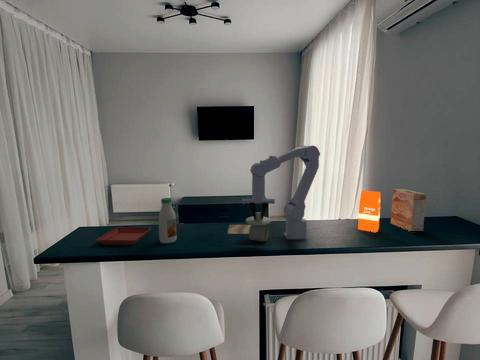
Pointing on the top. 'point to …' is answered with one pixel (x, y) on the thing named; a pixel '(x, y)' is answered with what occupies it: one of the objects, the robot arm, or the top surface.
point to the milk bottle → (167, 222)
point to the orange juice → (369, 211)
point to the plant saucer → (124, 236)
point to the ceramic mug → (258, 233)
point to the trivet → (238, 229)
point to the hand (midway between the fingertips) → (258, 218)
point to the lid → (258, 220)
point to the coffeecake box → (408, 209)
